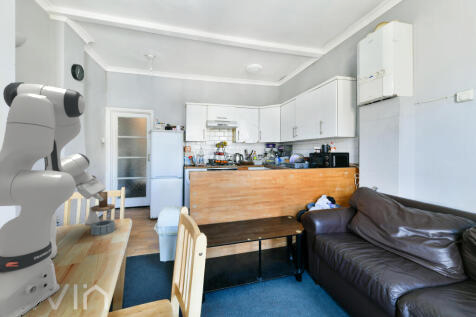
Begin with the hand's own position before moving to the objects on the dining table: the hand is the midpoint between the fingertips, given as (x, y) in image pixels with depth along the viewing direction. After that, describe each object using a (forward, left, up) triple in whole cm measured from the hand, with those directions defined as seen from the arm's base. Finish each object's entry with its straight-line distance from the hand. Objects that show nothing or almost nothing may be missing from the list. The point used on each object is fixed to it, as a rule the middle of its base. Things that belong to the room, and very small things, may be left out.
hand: (104, 199), depth 112 cm
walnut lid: (0, +1, -5) cm, 5 cm away
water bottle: (-29, +8, -18) cm, 35 cm away
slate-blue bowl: (0, +1, -18) cm, 18 cm away
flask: (+13, +14, -18) cm, 26 cm away
